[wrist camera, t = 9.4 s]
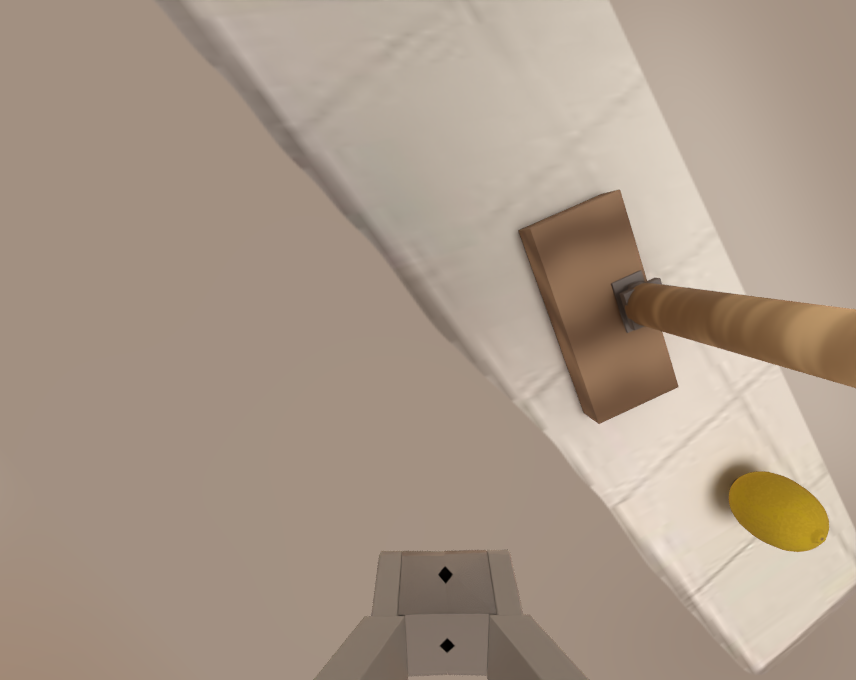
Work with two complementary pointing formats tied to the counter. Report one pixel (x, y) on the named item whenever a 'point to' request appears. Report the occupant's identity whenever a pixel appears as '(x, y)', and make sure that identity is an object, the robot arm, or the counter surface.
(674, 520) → the counter surface
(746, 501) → the lemon
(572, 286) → the brown wooden block
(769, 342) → the tan wooden peg
